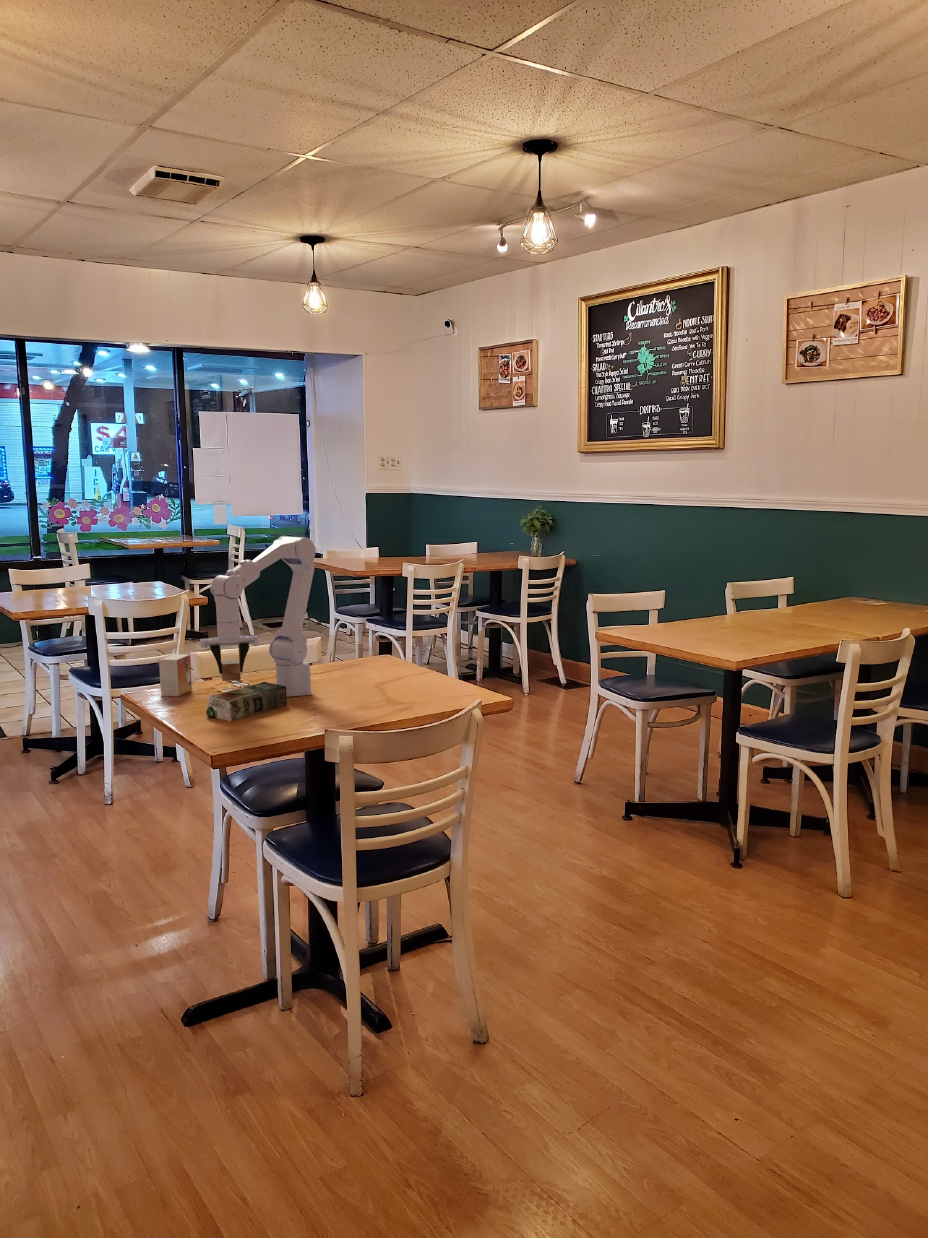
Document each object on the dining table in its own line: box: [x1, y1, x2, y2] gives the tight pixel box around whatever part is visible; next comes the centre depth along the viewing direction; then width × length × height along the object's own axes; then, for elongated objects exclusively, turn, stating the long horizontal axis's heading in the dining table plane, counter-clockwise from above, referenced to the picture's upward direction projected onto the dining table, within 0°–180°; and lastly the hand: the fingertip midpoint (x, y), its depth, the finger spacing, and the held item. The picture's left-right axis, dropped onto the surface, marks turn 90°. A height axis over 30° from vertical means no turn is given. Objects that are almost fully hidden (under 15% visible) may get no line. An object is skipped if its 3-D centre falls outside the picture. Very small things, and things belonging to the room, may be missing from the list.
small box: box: [158, 653, 193, 697], centre depth 263 cm, size 8×6×10 cm
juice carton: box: [205, 681, 288, 722], centre depth 244 cm, size 20×10×6 cm, turn 143°
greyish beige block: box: [220, 659, 241, 682], centre depth 245 cm, size 4×4×4 cm
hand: (230, 672), depth 245 cm, fingers closed on greyish beige block, 4 cm apart
